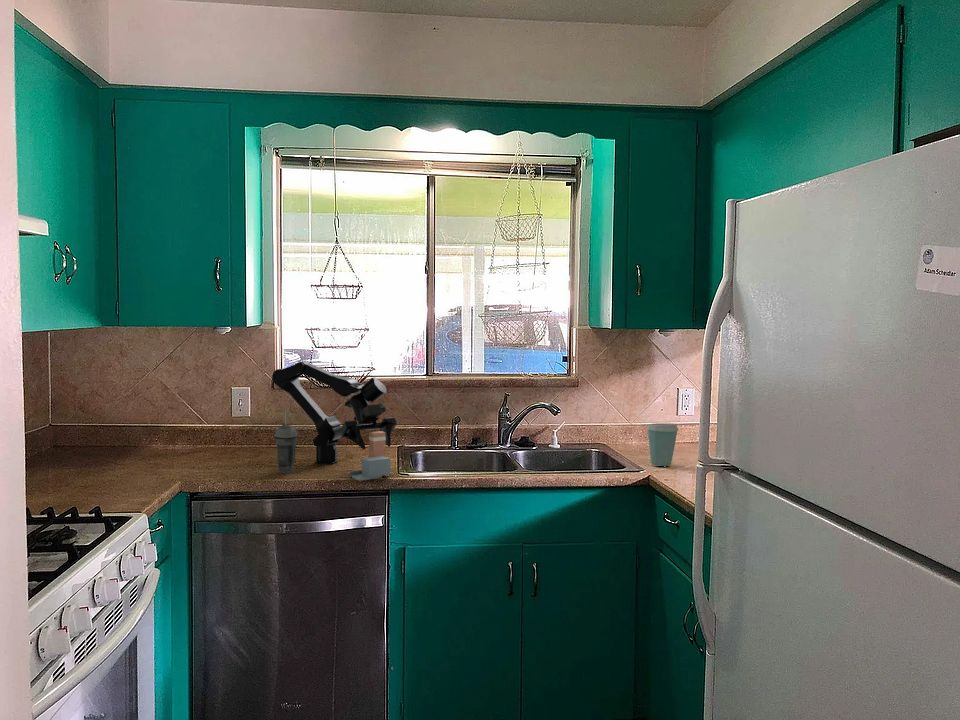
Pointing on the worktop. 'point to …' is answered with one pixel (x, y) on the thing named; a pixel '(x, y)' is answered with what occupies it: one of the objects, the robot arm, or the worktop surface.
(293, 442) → the beverage cup
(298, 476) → the worktop surface
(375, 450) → the pink bottle
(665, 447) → the disposable coffee cup
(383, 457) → the dispenser
